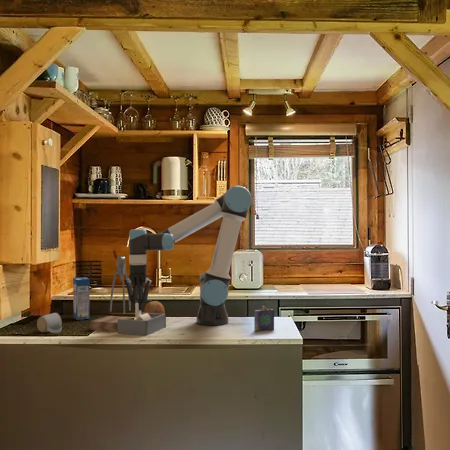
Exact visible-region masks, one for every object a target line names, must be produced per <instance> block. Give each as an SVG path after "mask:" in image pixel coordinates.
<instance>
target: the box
mask: <svg viewBox="0 0 450 450" xmlns="http://www.w3.org/2000/svg"><path fill="white" fill-rule="evenodd" d="M143 314H146V313H144V312H141V315H143ZM148 314H149V316H150V317H151V319H149V320H146V321H145V320H136V319H134V320H129V319H118V332H117V334H121V333H122V334H123V335H125V334H126V335H134V336H135V335H137V336H149V335H151V334H154V333H156V332H159V331H160V329H161V330H163V329H165V328H166V327H167V314H166V313H164V314H157V313H148ZM162 328H163V329H162Z"/></svg>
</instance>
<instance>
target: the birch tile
mask: <svg viewBox="0 0 450 450" xmlns="http://www.w3.org/2000/svg"><path fill="white" fill-rule="evenodd" d="M149 319H151V317H150V316H149V314H148V313H146V314H143V315H140V316H139V317H138V318H136V319H135V320H145V321H146V320H149Z"/></svg>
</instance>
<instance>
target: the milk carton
mask: <svg viewBox="0 0 450 450" xmlns="http://www.w3.org/2000/svg"><path fill="white" fill-rule="evenodd" d="M72 286H73V287H72V293H73V294H72V295H73V296H72V300H73V301H72V303H73V304H72V305H73V309H72V310H73V311H72V312H73V315H72V316H73V319H74V318H75V319H76V320H80V321H85V320H84V319H91V318H90V316H91V315H90V313H91V311H90V309H91V308H90V301H91V300H90V293H91V292H90V278H88V277H86V276H85V277H81V276H80V277H73V278H72ZM75 319H74V320H75ZM76 320H75V321H76Z"/></svg>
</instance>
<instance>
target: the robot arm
mask: <svg viewBox="0 0 450 450" xmlns="http://www.w3.org/2000/svg"><path fill="white" fill-rule="evenodd" d="M252 201H253V199H252V194H251V191H249V190H248V188H247V187H244V186H241V185H234V186H231V187H230V188H228V189H227V190H226V192H224V193H223V194H222V195H221V196H219V197H218V198H216V199H214V202H213V203H211V204H209V205H208V206H206V207H204V208H202V209H201V210H199V211H196V212H195V213H193V214H192V215H190V216H188V217H186V218H185V219H183V220H180V221H179V222H177V223H175V224H174V225H171V226H170V227H168V228H166V229H165V230H163V231H161V232H158V233H147V229H146V228H143V229H142V228H141V229H140V228H139V229H137V228H136V229H135V228H134V229H130V230H129V235H128V236H129V238H128V246H129V247H128V248H129V249H128V253H129V257H128V258H129V259H128V261H129V262H128V263H129V265H128V266H129V268H128V269H129V271H128V273H129V276H128V279H126V278H125V279H124V285H125V287H126V292H127V297H128V296H129V299H128V301H129V300H130V302H132V303H133V310H134V315H135V317H134V319H135V318H136V319H137V318H138V317H139V316H140V315H141V313H142V310H143V311H144V302H147V301H148V296H149V292H150V287H151V284H152V283H153V280H152V279H150V278H148V276H147V272H148V270H147V269H148V268H147V251H172V250H174V244H175V243H177V242H179V241H181V240H183V239H184V238H186V237H188V236H189V235H191V234H193V233H195V232H197V231H199V230H200V229H203V228H204V227H206V226H208V225H210V224H212V223H213V222H216V221H217V220H219V219H221V218H222V220H221V224H220V228H219V233H218V235H217V240H216V243H215V248H214V252H213V256H212V260H211V262H210V263H211V264H210V267H209V269H207V270H205V273H202V274H200V276H199V309H198V312H197V316H196V324H198V323H199V324H198V325H202V324H203V326H221V325H225V324H226V325H227V324H228V323H229V315H228V312H227V309H226V305H225V302H226V301H227V299H228V297H229V287H230V282H231V276H230V274H229V273H230V269H231V266H232V261H233V256H234V253H235V249H236V246H237V240H238V237H239V233H240V229H241V226H242V223H243V222H244V221H245V220H246V219H247V216H248V212H249V208H250V207H251V205H252Z"/></svg>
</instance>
